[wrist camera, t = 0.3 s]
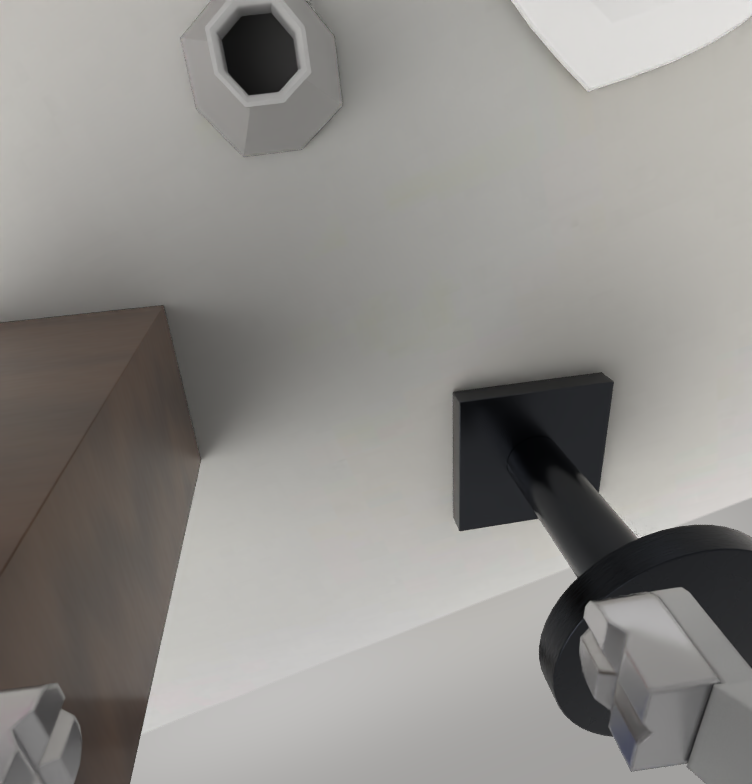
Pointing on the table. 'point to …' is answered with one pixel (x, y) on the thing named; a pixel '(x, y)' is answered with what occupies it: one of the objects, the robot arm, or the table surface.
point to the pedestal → (92, 516)
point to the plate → (627, 33)
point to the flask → (263, 73)
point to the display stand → (584, 520)
